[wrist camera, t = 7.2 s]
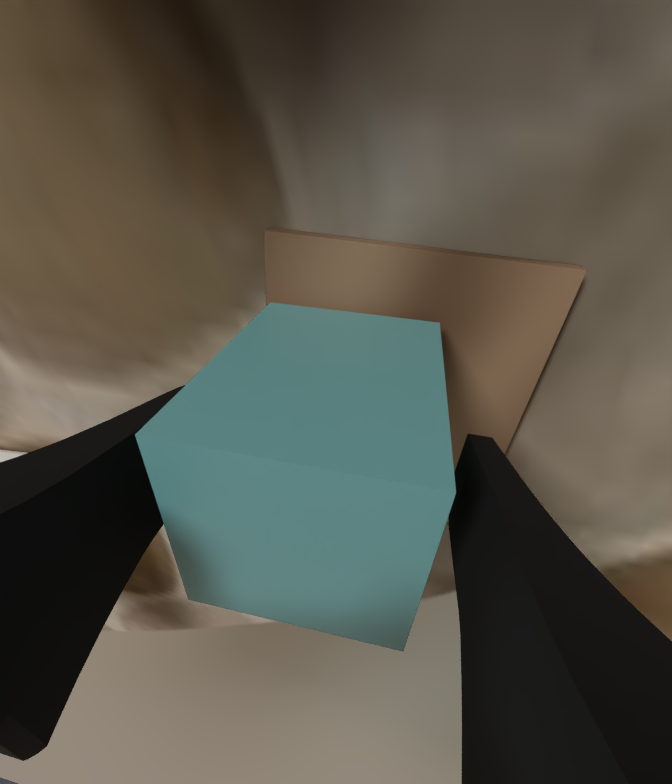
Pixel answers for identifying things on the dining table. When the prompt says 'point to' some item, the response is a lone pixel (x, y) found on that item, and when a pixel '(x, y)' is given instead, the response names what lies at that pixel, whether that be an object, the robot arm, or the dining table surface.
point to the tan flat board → (440, 312)
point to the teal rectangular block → (310, 471)
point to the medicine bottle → (9, 454)
